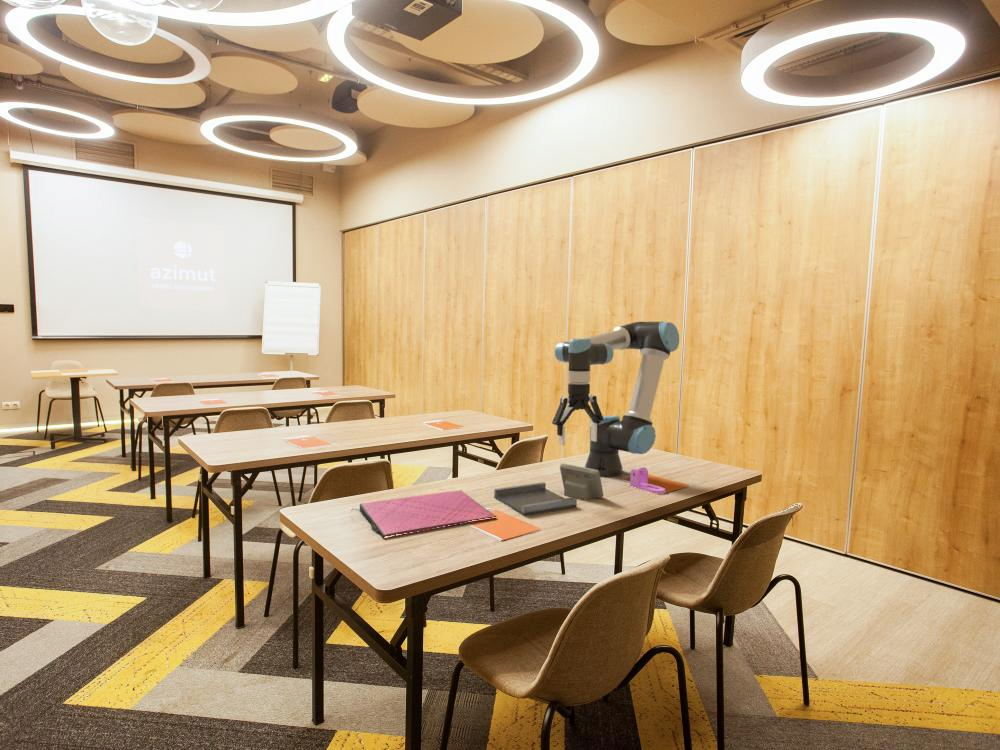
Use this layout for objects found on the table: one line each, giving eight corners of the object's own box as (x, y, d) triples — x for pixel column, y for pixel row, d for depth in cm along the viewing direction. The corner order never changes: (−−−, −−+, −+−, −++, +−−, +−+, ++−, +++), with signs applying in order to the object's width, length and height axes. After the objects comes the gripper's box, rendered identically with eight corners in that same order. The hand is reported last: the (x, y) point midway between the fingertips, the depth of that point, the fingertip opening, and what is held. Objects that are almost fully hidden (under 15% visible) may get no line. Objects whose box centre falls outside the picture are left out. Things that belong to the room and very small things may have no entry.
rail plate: (543, 490, 206) (543, 482, 205) (576, 507, 187) (576, 498, 187) (494, 497, 196) (494, 489, 196) (524, 516, 178) (524, 506, 178)
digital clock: (606, 498, 197) (606, 468, 196) (588, 503, 191) (589, 472, 190) (572, 487, 209) (572, 459, 208) (554, 492, 204) (555, 463, 203)
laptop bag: (461, 485, 198) (497, 510, 175) (460, 496, 199) (497, 522, 175) (346, 500, 179) (369, 530, 156) (346, 512, 180) (369, 544, 156)
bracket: (630, 486, 212) (630, 468, 211) (639, 484, 215) (640, 466, 214) (658, 495, 201) (658, 476, 201) (668, 492, 205) (668, 474, 204)
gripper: (601, 380, 206) (599, 437, 208) (542, 383, 194) (542, 444, 196) (614, 382, 199) (612, 441, 201) (554, 385, 187) (554, 448, 190)
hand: (577, 442), depth 199 cm, fingers open, 13 cm apart
